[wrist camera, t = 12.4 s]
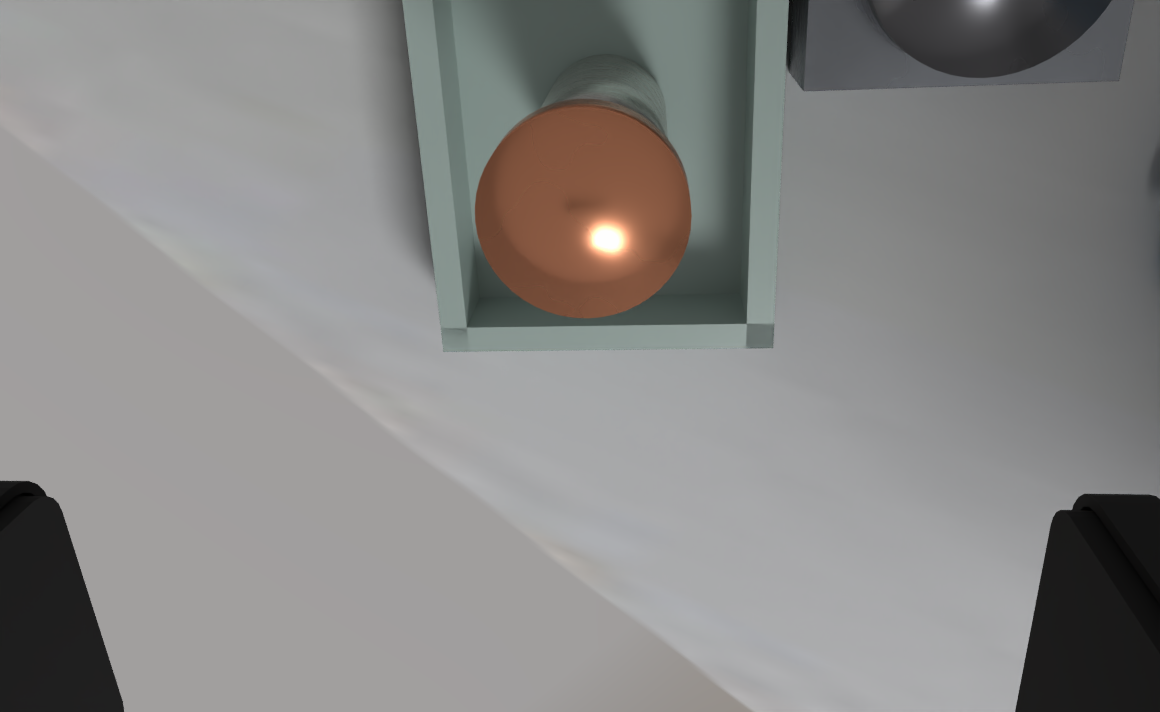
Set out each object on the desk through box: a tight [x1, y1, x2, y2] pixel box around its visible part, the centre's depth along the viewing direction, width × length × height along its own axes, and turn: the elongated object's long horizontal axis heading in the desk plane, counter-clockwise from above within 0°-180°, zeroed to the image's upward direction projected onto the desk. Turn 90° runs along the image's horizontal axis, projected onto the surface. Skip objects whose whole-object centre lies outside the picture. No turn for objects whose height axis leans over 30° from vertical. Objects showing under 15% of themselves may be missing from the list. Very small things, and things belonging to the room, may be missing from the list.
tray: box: [402, 0, 789, 352], centre depth 28 cm, size 13×10×3 cm
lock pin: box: [475, 54, 692, 318], centre depth 24 cm, size 4×4×10 cm
